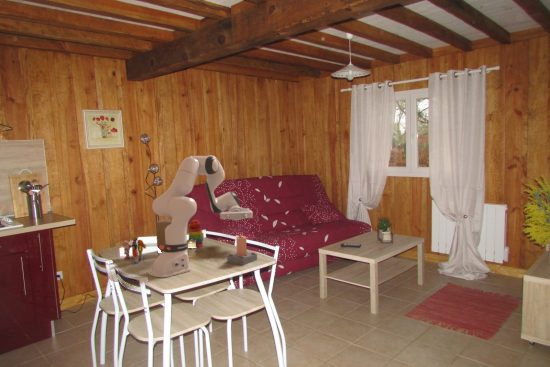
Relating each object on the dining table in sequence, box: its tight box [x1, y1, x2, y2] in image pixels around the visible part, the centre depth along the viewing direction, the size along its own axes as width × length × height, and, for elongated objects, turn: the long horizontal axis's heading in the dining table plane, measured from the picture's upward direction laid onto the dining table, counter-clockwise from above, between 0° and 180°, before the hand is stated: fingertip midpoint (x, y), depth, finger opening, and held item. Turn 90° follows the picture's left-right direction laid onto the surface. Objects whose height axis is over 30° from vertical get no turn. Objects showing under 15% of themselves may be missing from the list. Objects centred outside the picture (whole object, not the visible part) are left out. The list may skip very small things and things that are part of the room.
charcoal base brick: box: [226, 251, 258, 266], centre depth 223 cm, size 12×12×5 cm
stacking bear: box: [188, 219, 204, 249], centre depth 256 cm, size 11×10×18 cm
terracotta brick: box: [236, 235, 248, 256], centre depth 222 cm, size 5×5×11 cm
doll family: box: [121, 236, 147, 265], centre depth 230 cm, size 21×10×13 cm, turn 42°
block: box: [155, 218, 172, 252], centre depth 245 cm, size 10×10×20 cm
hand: (237, 217), depth 239 cm, fingers open, 8 cm apart
